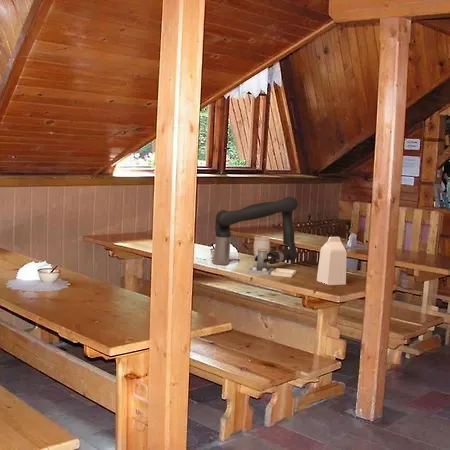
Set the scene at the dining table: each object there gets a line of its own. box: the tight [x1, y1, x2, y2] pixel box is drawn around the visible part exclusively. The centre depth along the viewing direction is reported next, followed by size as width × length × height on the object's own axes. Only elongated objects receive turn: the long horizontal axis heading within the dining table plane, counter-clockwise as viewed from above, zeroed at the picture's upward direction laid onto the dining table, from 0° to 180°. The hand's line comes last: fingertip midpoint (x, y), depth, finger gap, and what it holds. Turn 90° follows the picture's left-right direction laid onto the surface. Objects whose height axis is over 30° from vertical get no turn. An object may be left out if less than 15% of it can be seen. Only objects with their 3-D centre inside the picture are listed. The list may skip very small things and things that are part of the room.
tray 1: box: [248, 265, 275, 276], centre depth 394 cm, size 12×15×2 cm
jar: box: [253, 235, 271, 260], centre depth 437 cm, size 11×10×15 cm
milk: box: [316, 236, 348, 286], centre depth 375 cm, size 12×12×26 cm
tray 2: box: [270, 267, 297, 278], centre depth 390 cm, size 12×15×2 cm
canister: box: [256, 249, 268, 271], centre depth 394 cm, size 6×6×13 cm
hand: (259, 260), depth 392 cm, fingers closed on canister, 5 cm apart
